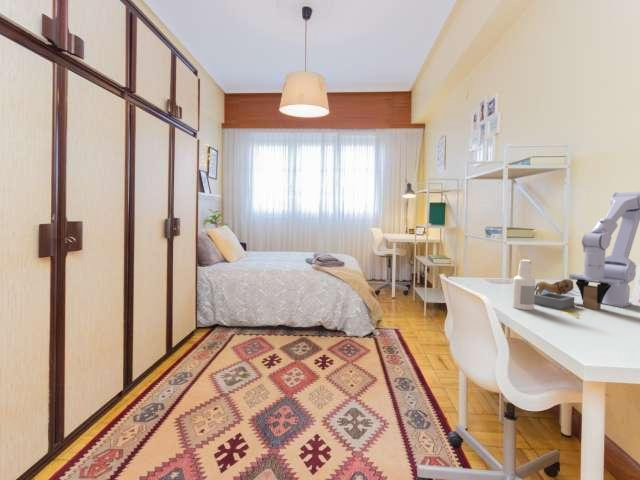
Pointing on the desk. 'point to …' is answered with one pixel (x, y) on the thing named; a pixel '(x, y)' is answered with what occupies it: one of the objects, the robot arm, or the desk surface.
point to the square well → (554, 300)
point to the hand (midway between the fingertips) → (591, 301)
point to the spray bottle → (524, 287)
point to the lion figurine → (555, 287)
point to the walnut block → (591, 297)
